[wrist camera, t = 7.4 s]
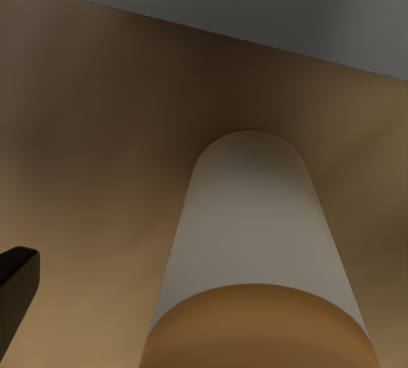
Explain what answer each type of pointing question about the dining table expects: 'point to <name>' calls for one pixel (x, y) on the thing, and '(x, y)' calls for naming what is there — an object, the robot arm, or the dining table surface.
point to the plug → (255, 269)
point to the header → (299, 27)
